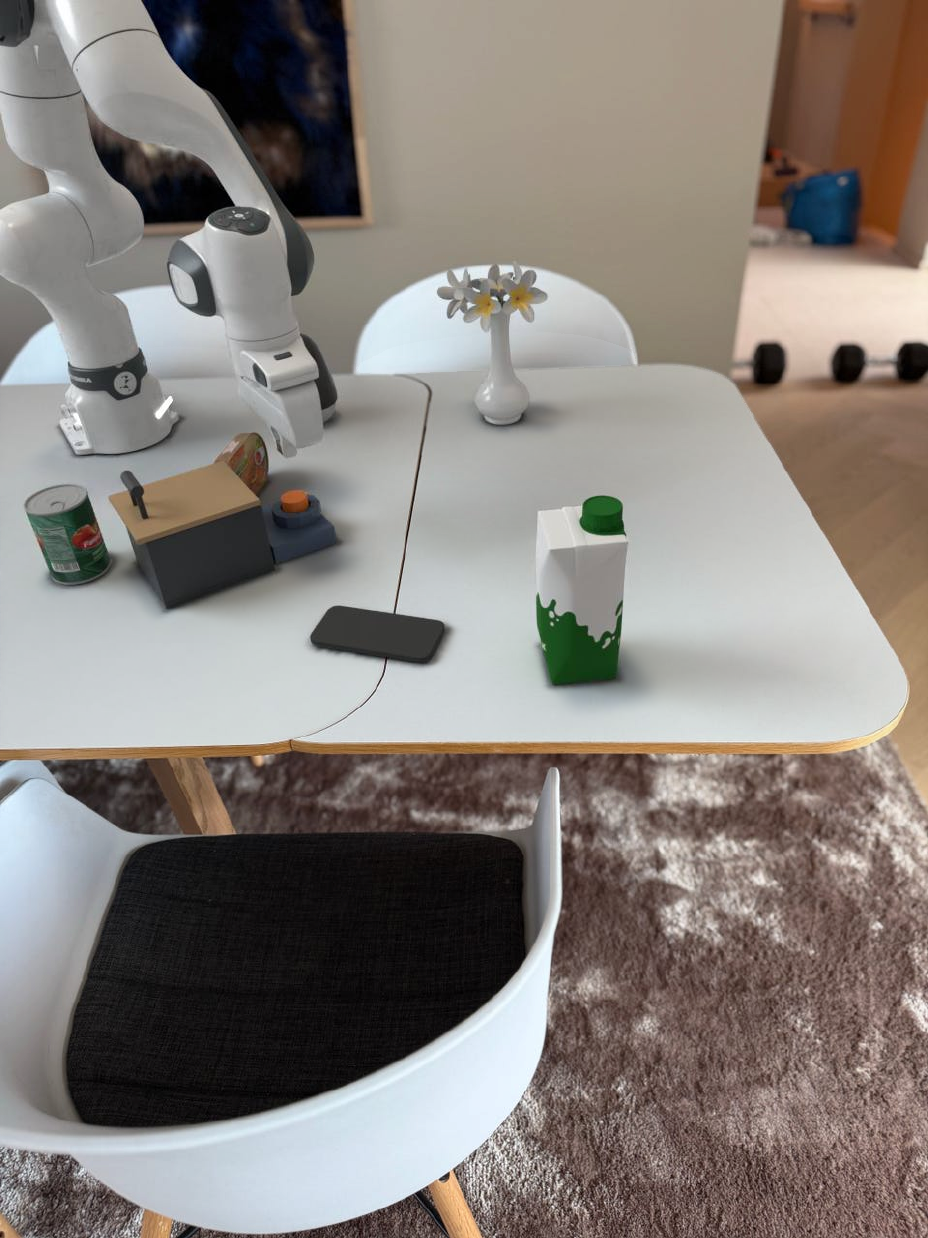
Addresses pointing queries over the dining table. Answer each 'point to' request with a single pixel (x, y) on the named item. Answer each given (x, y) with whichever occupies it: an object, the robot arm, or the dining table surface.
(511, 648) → the dining table surface
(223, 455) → the tin
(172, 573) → the dark grey bin
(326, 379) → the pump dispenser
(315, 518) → the panel
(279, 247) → the robot arm
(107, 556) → the canned tomato
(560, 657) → the milk carton
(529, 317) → the flower vase
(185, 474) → the lid
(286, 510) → the release button
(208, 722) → the dining table surface
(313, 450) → the dining table surface
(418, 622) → the phone
